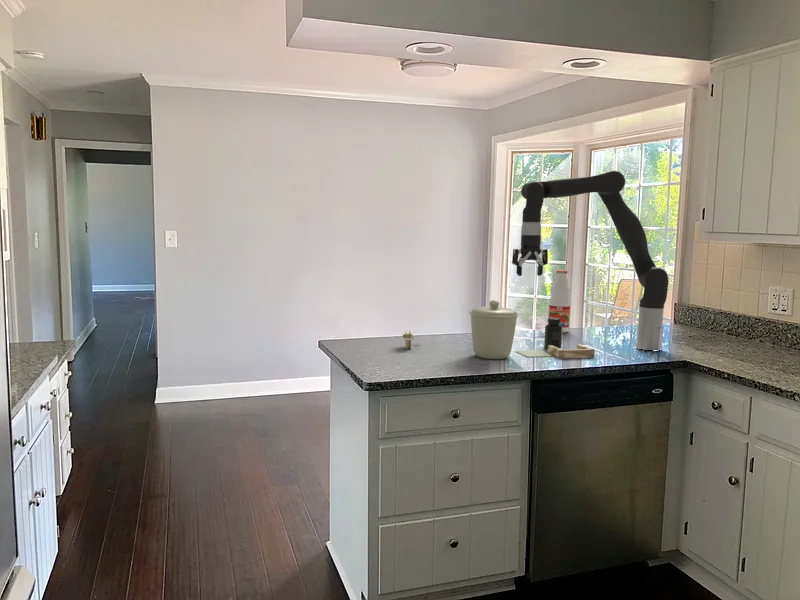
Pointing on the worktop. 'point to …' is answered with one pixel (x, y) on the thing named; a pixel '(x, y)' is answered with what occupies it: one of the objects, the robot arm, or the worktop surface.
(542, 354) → the sage tile
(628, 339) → the worktop surface
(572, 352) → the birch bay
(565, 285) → the fruit juice
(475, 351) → the canister
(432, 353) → the worktop surface
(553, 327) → the supplement bottle
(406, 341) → the yellow figurine
